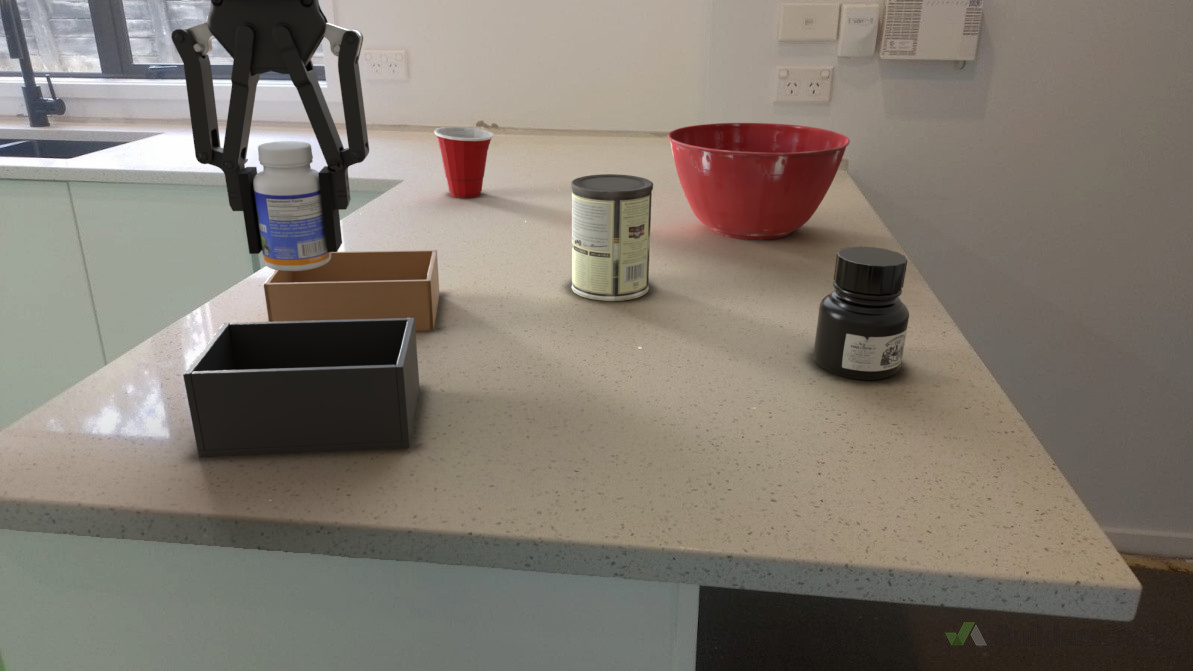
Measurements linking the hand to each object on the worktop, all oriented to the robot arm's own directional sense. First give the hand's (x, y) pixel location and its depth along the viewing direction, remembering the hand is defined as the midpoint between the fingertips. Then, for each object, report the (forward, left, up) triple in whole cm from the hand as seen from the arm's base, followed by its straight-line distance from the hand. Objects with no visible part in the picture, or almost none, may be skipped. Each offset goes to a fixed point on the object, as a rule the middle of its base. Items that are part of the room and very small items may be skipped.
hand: (296, 247), depth 69 cm
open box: (0, 0, -16) cm, 16 cm away
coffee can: (+31, +34, -16) cm, 49 cm away
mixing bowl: (+58, +62, -16) cm, 86 cm away
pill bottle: (0, 0, -2) cm, 2 cm away
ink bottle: (+54, +8, -16) cm, 57 cm away
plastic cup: (+11, +89, -16) cm, 91 cm away
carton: (0, +27, -16) cm, 31 cm away
